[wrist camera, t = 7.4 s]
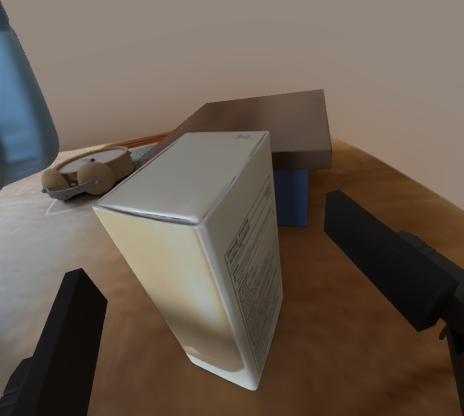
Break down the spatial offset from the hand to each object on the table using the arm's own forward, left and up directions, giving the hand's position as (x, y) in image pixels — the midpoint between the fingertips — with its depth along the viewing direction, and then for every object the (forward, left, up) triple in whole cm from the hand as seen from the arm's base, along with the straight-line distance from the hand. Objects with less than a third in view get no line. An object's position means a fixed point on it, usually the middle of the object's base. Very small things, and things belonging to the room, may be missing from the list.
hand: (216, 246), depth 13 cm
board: (-1, +16, 0) cm, 16 cm away
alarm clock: (-27, +18, -7) cm, 33 cm away
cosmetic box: (+1, -1, -7) cm, 7 cm away
